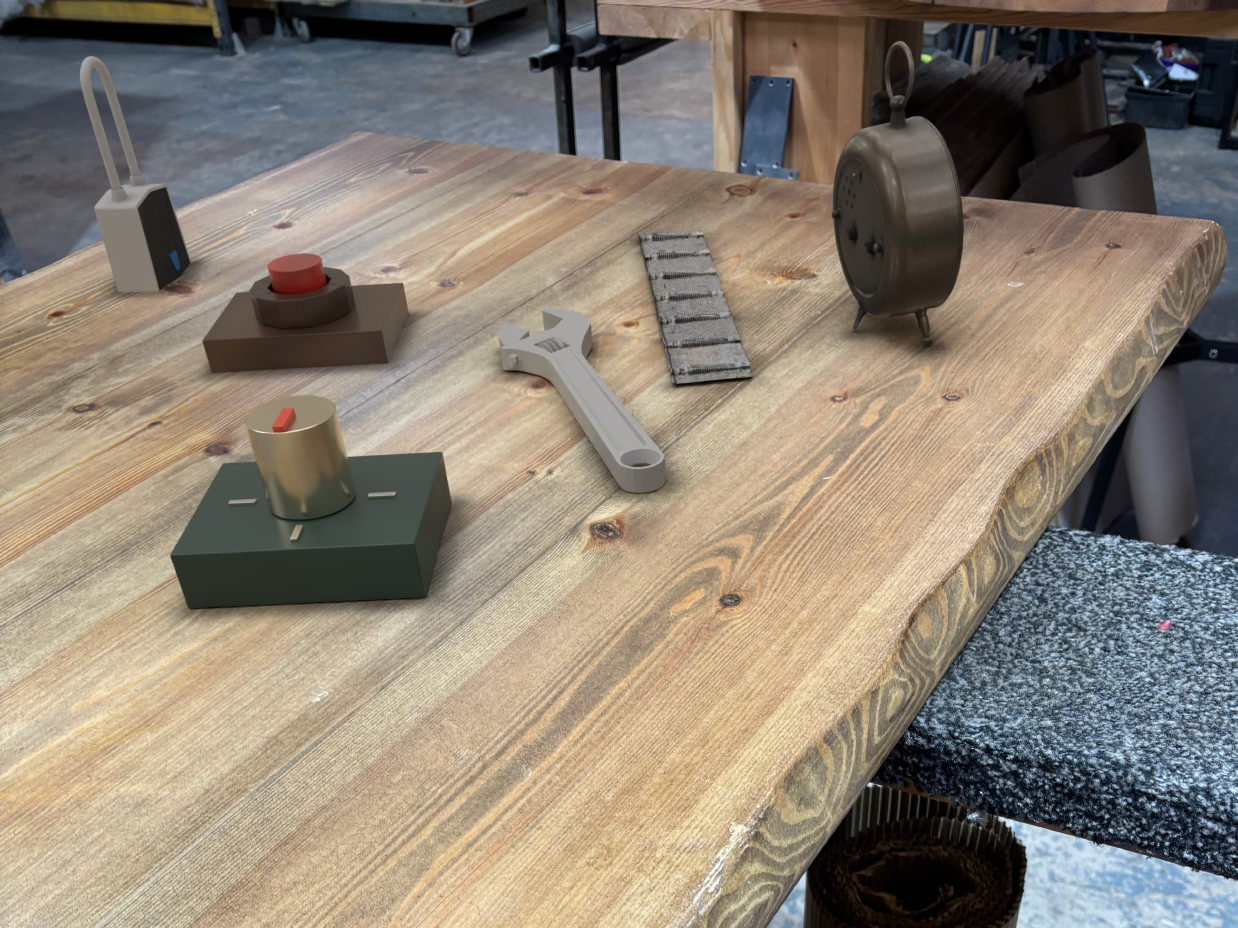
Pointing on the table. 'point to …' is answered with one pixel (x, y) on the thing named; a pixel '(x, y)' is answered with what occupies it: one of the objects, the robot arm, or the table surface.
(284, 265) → the button
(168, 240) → the padlock
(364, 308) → the button box
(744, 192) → the table surface
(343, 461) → the knob
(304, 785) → the table surface
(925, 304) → the alarm clock
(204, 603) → the panel
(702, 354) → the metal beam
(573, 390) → the adjustable wrench
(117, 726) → the table surface
